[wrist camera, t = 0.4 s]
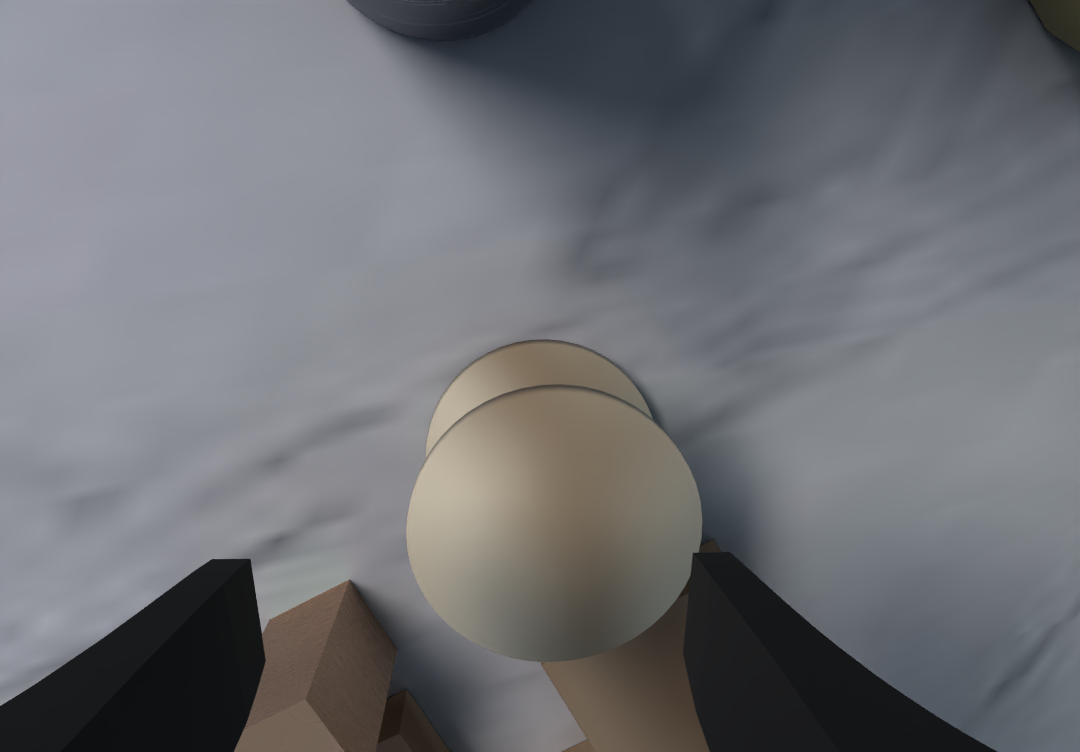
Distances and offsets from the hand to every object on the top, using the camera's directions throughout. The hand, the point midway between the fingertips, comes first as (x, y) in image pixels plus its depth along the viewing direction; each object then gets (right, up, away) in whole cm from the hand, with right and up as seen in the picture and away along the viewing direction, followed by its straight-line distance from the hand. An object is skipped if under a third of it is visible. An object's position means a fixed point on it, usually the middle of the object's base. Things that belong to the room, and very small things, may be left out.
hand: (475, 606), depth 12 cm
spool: (+1, +2, +10) cm, 11 cm away
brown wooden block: (-6, -5, +12) cm, 14 cm away
